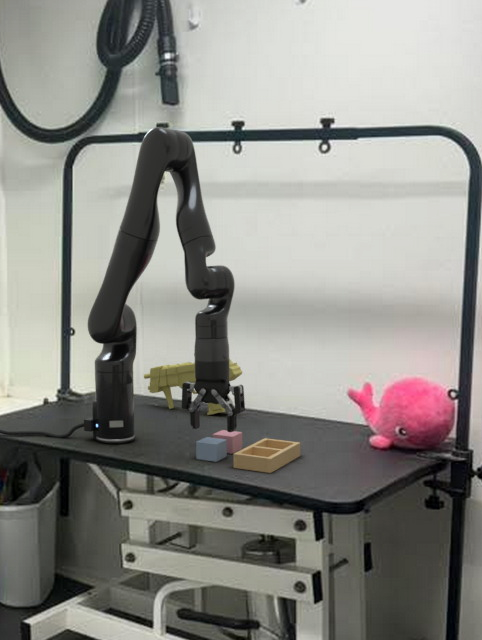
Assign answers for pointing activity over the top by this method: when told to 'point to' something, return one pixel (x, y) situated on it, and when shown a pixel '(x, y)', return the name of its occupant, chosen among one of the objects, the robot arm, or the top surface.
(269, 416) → the top surface
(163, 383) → the firearm
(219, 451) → the blue block
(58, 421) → the top surface
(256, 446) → the pad holder
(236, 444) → the pink block
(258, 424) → the top surface
